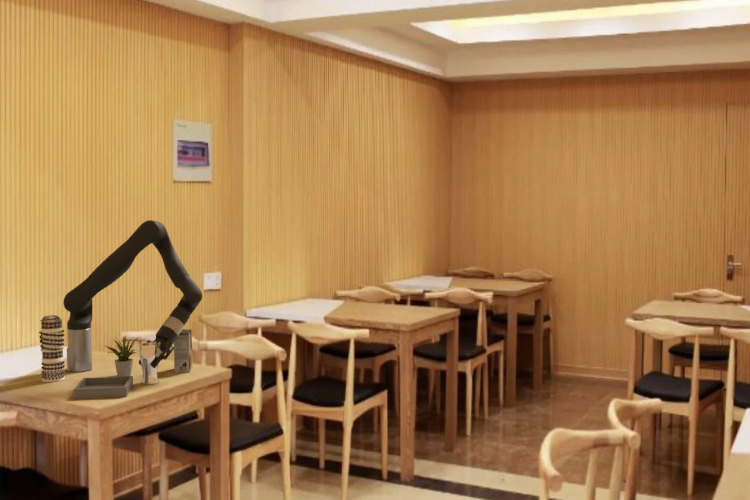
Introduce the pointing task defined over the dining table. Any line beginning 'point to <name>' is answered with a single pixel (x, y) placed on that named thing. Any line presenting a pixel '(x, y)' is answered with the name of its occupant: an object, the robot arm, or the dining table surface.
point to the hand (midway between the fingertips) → (146, 365)
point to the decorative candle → (52, 349)
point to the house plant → (123, 357)
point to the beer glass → (149, 362)
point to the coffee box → (183, 351)
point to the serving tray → (103, 387)
